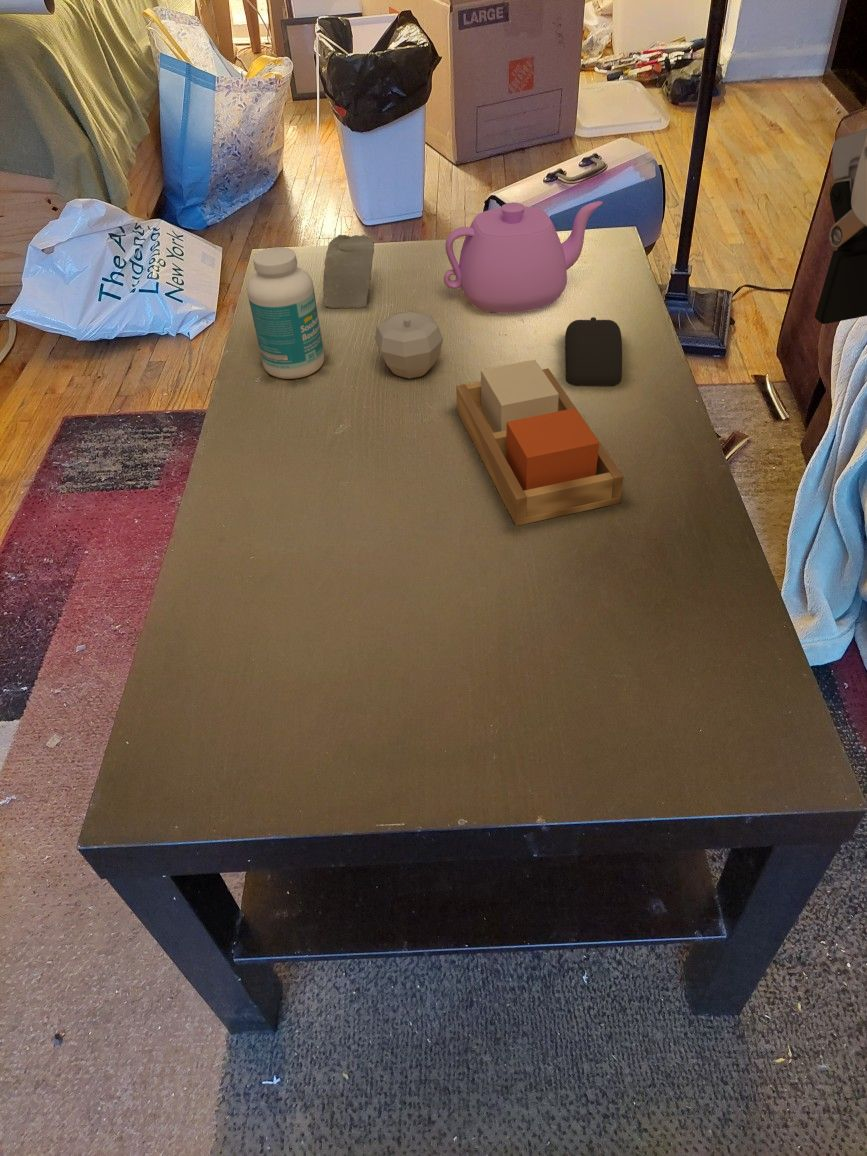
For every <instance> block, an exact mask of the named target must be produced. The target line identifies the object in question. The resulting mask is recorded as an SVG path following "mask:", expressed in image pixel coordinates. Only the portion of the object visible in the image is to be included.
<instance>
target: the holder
mask: <svg viewBox="0 0 867 1156" xmlns="http://www.w3.org/2000/svg"><path fill="white" fill-rule="evenodd" d="M541 369H542V370H543V372H544V373H545V375H546V376H547V378H548V379H549V381H550V382H551V383H552V385H553V386H554V388H555V389H556V391H557V392H558V394H559V398H558V411H563V410H568V409H573V408H575V409H576V410H577V412H578V413H579V414H580V416H581V417H582V419H583V420H584V422H585V423H586V424H587V426H588V427H589V429H590V430H591V432H592V433H593V435H594V436H595V437H596V439H597V440H598V442H599V449H598V459H597V468H596V475H595V476H590V477H585V478H581V479H576V480H571V481H566V482H562V483H557V484H552V485H548V486H543V487H538V488H534V489H529V490H524V491H523V489H522V488H521V486H520V484H519V482H518V480H517V479H516V477H515V475H514V473H513V471H512V469H511V468H510V466H509V464H508V462H507V460H506V430H505V431H500V432H496V433H494V432H493V430H492V428H491V427H490V425H489V423H488V421H487V419H486V417H485V416H484V414H483V412H482V410H481V380H479V381H475V382H469V383H465V384H459V385H455V392H456V412H457V414H458V416H459V418H460V420H461V422H462V424H463V426H464V427H465V429H466V431H467V434H468V435H469V437H470V439H471V441H472V443H473V445H474V447H475V449H476V451H477V453H478V455H479V457H480V459H481V460H482V463H483V465H484V466H485V468H486V471H487V473H488V475H489V476H490V478H491V480H492V483H493V484H494V486H495V488H496V490H497V492H498V494H499V496H500V498H501V500H502V502H503V504H504V505H505V508H506V510H507V512H508V513H509V516H510V517H511V519H512V521H513V523H514V524H515V527H517V526H523V525H527V524H531V523H537V522H541V521H545V520H550V519H554V518H559V517H564V516H568V515H572V514H577V513H581V512H585V511H586V512H587V511H590V510H596V509H600V508H604V507H609V506H613V505H619V504H621V501H622V492H623V487H624V485H623V484H624V478H625V475H624V474H623V472H622V471H621V470H620V469H619V466H618V465H617V464H616V463H615V461H614V460H613V459H612V457H611V455H610V454H609V453H608V451H607V450H606V448H605V447H604V445H603V444H602V442H601V441H600V440H599V438H598V437H597V436H596V434H595V433H594V431H593V430H592V428H591V427H590V426H589V423H587V421H586V419H585V418H584V417H583V416H582V414H581V412H580V411H579V410H578V408H577V407H576V405H575V404H574V402H573V401H572V399H570V397H569V395H568V394H567V393H566V391H565V390H564V388H563V387H562V386H561V384H560V382H559V381H558V379H557V378H556V377H555V375H554V374H553V373H552V371H551V369H549V367H547V368H541Z"/></svg>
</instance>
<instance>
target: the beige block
mask: <svg viewBox="0 0 867 1156" xmlns="http://www.w3.org/2000/svg"><path fill="white" fill-rule="evenodd" d="M542 369H543V368H542V367H541V366H540V365H539V363H538V362H537V360H536V359H530V360H525V361H520V362H514V363H509V364H504V365H498V366H493V367H489V368H488V367H487V368H483V369H480V381H481V410H482V412H483V414H484V416H485V417H486V419H487V421H488V423H489V425H490V427H491V428H492V430H493V432H494V433H496V432H500V431H505V430H506V429H507V422H508V421H513V420H518V419H523V418H528V417H533V416H538V415H543V414H548V413H553V412H558V398H559V394H558V392H557V391H556V389H555V388H554V386H553V385H552V383H551V382H550V381H549V379H548V378H547V376H546V375H545V373H544V372H543V370H542Z"/></svg>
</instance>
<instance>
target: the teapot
mask: <svg viewBox="0 0 867 1156" xmlns="http://www.w3.org/2000/svg"><path fill="white" fill-rule="evenodd" d="M603 203H604V202H603V201H602V200H598V201H594V202H591V203H588V204H586V205H583V206H582V207H581V208H580V209H579V210H578V211H577V213H576V215H575V217H574V220H573V225H572V229H571V232H570V234H569V236H568V237H567V238H566V239H565V240H564V241H563V242H562V241H561V238H560V237H559V235H558V232H557V230H556V227H555V225H554V223H553V221H552V219H551V218H550V216H549V214H547V212H546V211H544V210H543V209H542V208H540V207H536V206H525V204H522V203H521V202H507V203H504V204H502V205H501V207H499V208H493V209H489V210H488V209H487V210H484V211H482V212H480V213H478V214H477V215H475V216H474V218H473V220H472V221H471V223H470V225H469V226H460V227H457V228H455V229H453V230H452V231H451V232H450V233H449V234H448V235H447V237H446V239H445V245H444V246H445V253H446V257H447V259H448V261H449V264H450V266H451V269H448V270H447V271H445V274H444V276H443V282H444V285H445V286H446V287H447V288H449V289H453V290H456V289H457V290H458V289H460V288H461V290H462V291H463V294H464V296H465V297H466V299H467V300H468V301H469V302H470V303H471V305H472V306H473V307H474V308H475V309H477V310H480V311H482V312H487V313H489V314H499V313H505V314H506V313H509V314H510V313H522V312H528V311H533V310H537V309H542V308H544V307H545V308H546V307H547V306H550V305H552V304H554V303H555V302H556V301H557V300H558V299H559V298H560V296H561V295H562V293H564V291H565V289H566V286H567V284H568V272H567V271H568V270H569V269H571V267H573V266H574V265H575V264H576V262H578V260H579V258H580V256H581V254H582V251H583V247H584V241H585V233H586V228H587V223H588V221H589V219H590V217H591V215H592V214H593V213H594V212H595V211H596V210H597V209H598V208H599V207H600V206H602V205H603ZM461 237H464V240H463V243H462V247H461V249H460V255H459V261H458V260H457V258H456V255H455V251H454V248H453V246H454V242H455V241H456V240H457V239H459V238H461ZM451 276H455V279H454V280H452V279H450V277H451Z"/></svg>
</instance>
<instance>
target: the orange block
mask: <svg viewBox="0 0 867 1156" xmlns="http://www.w3.org/2000/svg"><path fill="white" fill-rule="evenodd" d="M577 410H578V409H577ZM577 410H576V409H575V408H573V409H568V410H563V411H558V412H553V413H548V414H543V415H538V416H533V417H528V418H523V419H518V420H513V421H508V422H507V429H506V460H507V462H508V464H509V466H510V468H511V469H512V471H513V473H514V475H515V477H516V479H517V480H518V482H519V484H520V486H521V488H522V489H523V491H524V490H529V489H534V488H538V487H543V486H548V485H552V484H557V483H562V482H566V481H571V480H576V479H581V478H585V477H590V476H595V475H596V468H597V459H598V449H599V442H598V440H599V439H598V440H597V439H596V437H597V436H596V435H595V436H596V437H595V436H594V435H593V433H594V432H593V433H592V432H591V430H592V429H591V430H590V429H589V427H590V426H589V425H588V426H589V427H588V426H587V424H588V423H587V422H586V423H587V424H586V423H585V422H584V420H585V419H584V420H583V419H582V417H583V416H582V415H581V416H582V417H581V416H580V414H581V413H580V412H579V413H580V414H579V413H578V412H577Z"/></svg>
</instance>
